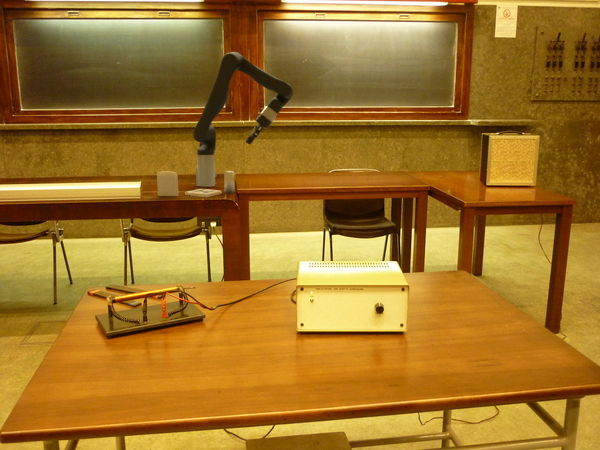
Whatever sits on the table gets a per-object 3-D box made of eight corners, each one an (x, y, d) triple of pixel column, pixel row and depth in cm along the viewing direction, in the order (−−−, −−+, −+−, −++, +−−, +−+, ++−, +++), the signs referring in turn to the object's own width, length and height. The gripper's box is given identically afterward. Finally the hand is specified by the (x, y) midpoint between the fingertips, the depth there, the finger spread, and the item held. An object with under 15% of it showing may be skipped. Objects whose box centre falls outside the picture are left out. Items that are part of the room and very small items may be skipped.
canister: (222, 193, 299) (222, 171, 297) (228, 191, 303) (227, 170, 301) (230, 193, 297) (230, 172, 294) (236, 192, 301) (235, 171, 299)
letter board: (185, 195, 292) (185, 191, 291) (201, 191, 303) (201, 188, 303) (205, 197, 286) (205, 194, 285) (221, 193, 297) (221, 190, 296)
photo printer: (156, 196, 287) (155, 171, 284) (159, 194, 291) (158, 170, 288) (177, 196, 286) (176, 171, 284) (179, 195, 291) (178, 170, 288)
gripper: (259, 113, 301) (240, 138, 302) (262, 112, 287) (242, 139, 288) (270, 122, 303) (252, 147, 304) (274, 122, 289) (254, 148, 290)
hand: (247, 143), depth 296 cm, fingers open, 8 cm apart
